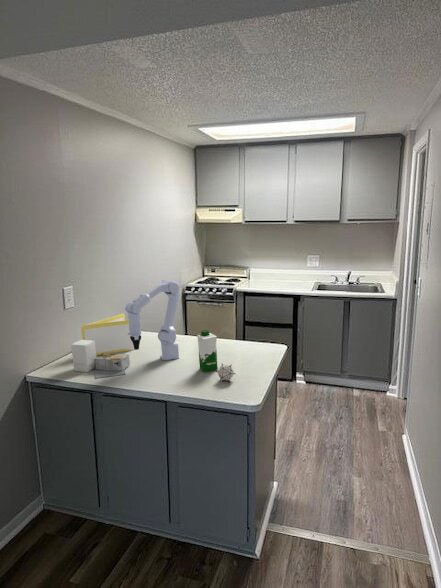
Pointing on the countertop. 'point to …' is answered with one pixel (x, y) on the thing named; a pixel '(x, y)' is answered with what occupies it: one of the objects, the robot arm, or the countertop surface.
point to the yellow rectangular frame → (109, 334)
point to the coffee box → (112, 362)
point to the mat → (108, 373)
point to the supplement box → (83, 355)
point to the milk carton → (207, 351)
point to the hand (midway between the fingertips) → (136, 349)
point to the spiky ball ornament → (225, 372)
